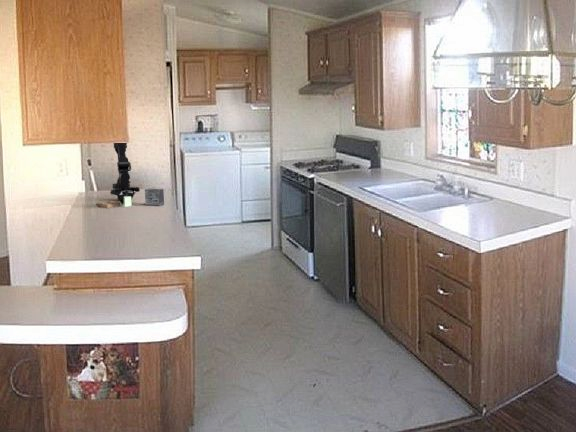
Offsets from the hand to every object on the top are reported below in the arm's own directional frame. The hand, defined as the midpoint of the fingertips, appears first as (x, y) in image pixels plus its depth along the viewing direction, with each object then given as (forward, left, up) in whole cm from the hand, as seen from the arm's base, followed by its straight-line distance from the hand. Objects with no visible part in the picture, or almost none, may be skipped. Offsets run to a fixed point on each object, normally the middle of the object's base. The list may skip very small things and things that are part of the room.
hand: (126, 204), depth 434 cm
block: (0, 0, -1) cm, 1 cm away
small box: (-13, +13, -2) cm, 18 cm away
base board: (+6, -9, -1) cm, 11 cm away
